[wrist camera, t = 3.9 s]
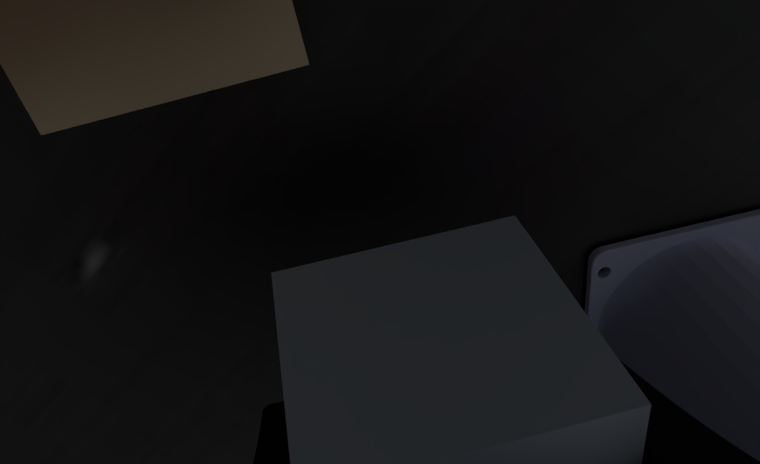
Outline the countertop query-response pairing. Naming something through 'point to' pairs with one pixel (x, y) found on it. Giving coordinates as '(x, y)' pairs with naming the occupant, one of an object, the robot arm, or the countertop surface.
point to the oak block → (138, 52)
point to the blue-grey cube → (449, 358)
